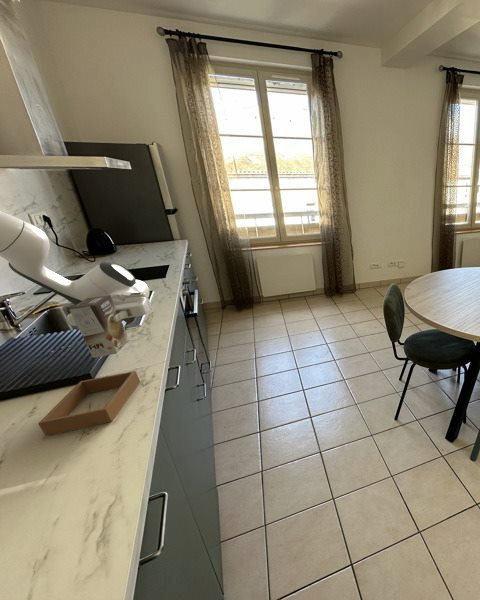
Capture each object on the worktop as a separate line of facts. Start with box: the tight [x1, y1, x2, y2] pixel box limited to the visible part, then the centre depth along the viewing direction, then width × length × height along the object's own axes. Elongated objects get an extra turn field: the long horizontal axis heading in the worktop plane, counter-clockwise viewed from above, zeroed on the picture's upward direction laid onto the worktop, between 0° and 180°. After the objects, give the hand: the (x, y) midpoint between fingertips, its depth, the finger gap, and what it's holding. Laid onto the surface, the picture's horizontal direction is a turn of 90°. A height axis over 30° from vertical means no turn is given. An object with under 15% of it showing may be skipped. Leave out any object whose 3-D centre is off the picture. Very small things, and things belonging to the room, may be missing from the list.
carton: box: [37, 370, 141, 437], centre depth 88 cm, size 14×18×4 cm
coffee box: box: [68, 295, 130, 359], centre depth 99 cm, size 9×6×16 cm
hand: (98, 322), depth 97 cm, fingers closed on coffee box, 6 cm apart
